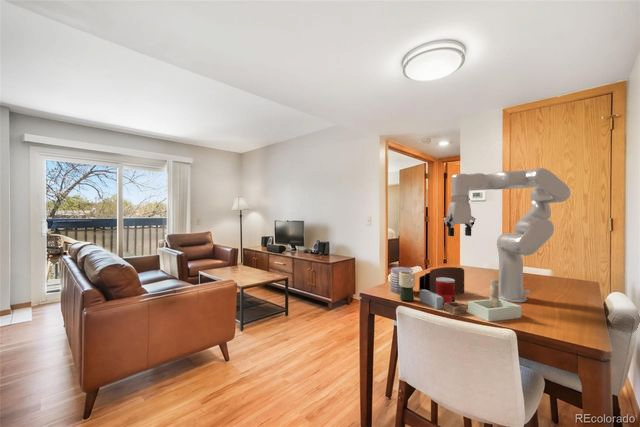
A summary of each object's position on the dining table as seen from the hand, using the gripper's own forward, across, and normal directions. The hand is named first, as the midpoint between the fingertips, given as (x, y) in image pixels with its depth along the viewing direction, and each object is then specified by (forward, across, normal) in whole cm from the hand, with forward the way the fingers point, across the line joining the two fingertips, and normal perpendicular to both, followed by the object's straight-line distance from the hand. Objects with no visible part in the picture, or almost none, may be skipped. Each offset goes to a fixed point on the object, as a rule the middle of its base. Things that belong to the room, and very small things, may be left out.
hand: (459, 235), depth 130 cm
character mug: (+31, +25, -5) cm, 40 cm away
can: (+31, +20, -18) cm, 41 cm away
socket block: (+30, +14, +14) cm, 36 cm away
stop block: (+30, +18, +3) cm, 35 cm away
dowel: (+29, +1, +20) cm, 35 cm away
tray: (+30, +1, +20) cm, 36 cm away
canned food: (+31, +10, +3) cm, 32 cm away
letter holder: (+31, +1, -12) cm, 33 cm away
